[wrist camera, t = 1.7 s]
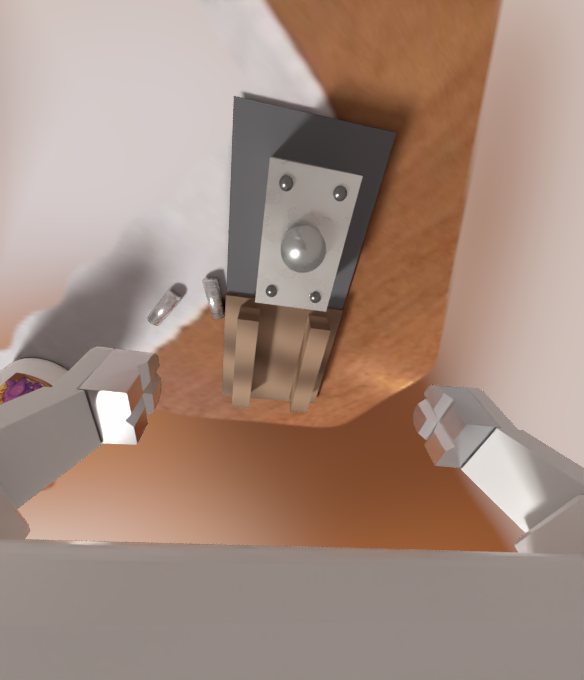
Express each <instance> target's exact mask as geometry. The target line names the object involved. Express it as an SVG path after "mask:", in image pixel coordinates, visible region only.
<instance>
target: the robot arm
mask: <svg viewBox="0 0 584 680" xmlns="http://www.w3.org/2000/svg"><path fill="white" fill-rule="evenodd" d="M159 366H160V365H159V358H158V356H157V355H156V354H155V353H147V352H140V351H132V350H125V349H115V348H107V347H99V346H97V347H93V348H91V349H90V350H89V351H88V352H87V353H86V354H85V355H84V356H83V357H82V358H81V359H80V360H79V361H78V362H77V363H76V364H75V365H74V366H73V367H72V368H71V369H70V370H69V371H68V372H67V373H66V374H65V375H64V376H63V377H62V378H60V379H59V380H58V381H57V382H56V383H55V384H54V385H53V386H52V387H42V388H40V389H37V390H35V391H32V392H30V393H27V394H25V395H23V396H20V397H18V398H15V399H13V400H10V401H8V402H5V403H3V404H0V680H584V468H583V467H581V466H580V465H578V464H576V463H575V462H573V461H572V460H570V459H568V458H567V457H565V456H564V455H562V454H560V453H559V452H557V451H555V450H554V449H552V448H551V447H549V446H547V445H546V444H544V443H543V442H541V441H539V440H538V439H536V438H534V437H533V436H531V435H530V434H528V433H526V432H525V431H523V430H518V429H517V428H516V427H515V426H514V425H513V423H512V422H511V421H510V420H509V419H508V418H507V417H506V416H505V415H504V414H503V412H502V411H500V409H499V408H498V407H497V406H496V405H495V404H494V402H493V401H492V400H491V399H490V398H489V397H488V396H487V395H486V394H485V393H484V391H482V390H480V389H478V388H467V387H452V386H443V385H433V384H432V385H431V386H429V387H428V388H427V390H426V391H425V393H424V395H425V400H423V401H422V402H420V403H418V405H417V407H416V408H415V410H414V418H413V420H414V425H415V428H416V430H417V432H418V433H419V434H420V435H421V436H422V437H423V438H425V439H426V442H425V447H426V449H427V451H428V453H429V455H430V457H431V459H432V461H433V463H434V465H436V466H447V467H456V468H462V469H461V470H462V471H463V472H464V473H465V474H466V475H467V476H468V477H469V478H471V480H472V481H473V482H474V483H475V484H476V485H477V486H478V487H479V488H480V489H482V490H483V491H484V492H485V493H486V494H487V495H488V496H489V497H490V498H491V499H492V500H493V501H494V502H495V503H496V504H497V505H498V506H499V507H500V508H501V509H502V510H503V511H504V512H505V513H506V514H507V515H508V516H509V517H510V518H511V519H512V520H513V521H514V522H515V523H516V524H517V525H518V526H519V527H520V528H521V529H522V530H523V531H524V532H525V534H524V535H522V536H521V537H520V538H518V539H517V540H516V541H515V547H516V549H517V551H518V552H519V553H513V552H476V551H440V550H438V551H437V550H404V549H403V550H400V549H367V548H331V547H293V546H292V547H291V546H258V545H256V546H255V545H221V544H183V543H145V542H143V543H142V542H107V541H69V540H68V541H67V540H33V539H25V538H26V537H27V535H28V534H29V532H30V528H29V524H28V523H27V521H26V520H25V519H24V518H23V516H22V515H21V513H20V512H19V511H18V508H19V507H20V506H22V505H23V504H24V503H25V502H27V501H28V500H30V499H31V498H32V497H34V496H35V495H36V494H38V493H39V492H40V491H42V490H43V489H44V488H46V487H47V486H48V485H49V484H51V483H52V482H53V481H55V480H56V479H57V478H59V477H60V476H61V475H63V474H64V473H65V472H67V471H68V470H69V469H70V468H72V467H73V466H74V465H76V464H77V463H78V462H80V461H81V460H82V459H84V458H85V457H86V456H88V455H89V454H90V453H92V452H93V451H94V450H95V449H97V448H98V447H99V446H101V443H111V444H135V445H137V444H138V442H139V440H140V438H141V436H142V434H143V433H144V431H145V429H146V427H147V425H148V420H147V415H149V414H150V413H152V412H153V411H155V409H156V407H157V404H158V402H159V398H160V395H161V386H162V384H161V377H160V376H159V375H158V374H157V373H156V371H157V369H158V368H159Z"/></svg>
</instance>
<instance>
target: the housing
mask: <svg viewBox="0 0 584 680" xmlns="http://www.w3.org/2000/svg"><path fill="white" fill-rule="evenodd" d="M362 177H363V176H361V175H357V174H354V173H350V172H347V171H342V170H337V169H332V168H327V167H322V166H317V165H312V164H307V163H302V162H297V161H292V160H287V159H282V158H277V157H272V156H271V157H270V162H269V171H268V181H267V191H266V200H265V210H264V220H263V229H262V239H261V249H260V259H259V268H258V278H257V288H256V297H255V302H256V303H264V304H271V305H279V306H286V307H294V308H302V309H309V310H317V311H324V312H326V310H327V306H328V303H329V299H330V295H331V292H332V288H333V284H334V280H335V277H336V273H337V269H338V266H339V262H340V258H341V255H342V251H343V247H344V243H345V240H346V236H347V232H348V229H349V225H350V221H351V218H352V214H353V210H354V207H355V203H356V199H357V195H358V192H359V188H360V184H361V181H362Z"/></svg>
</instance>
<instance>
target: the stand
mask: <svg viewBox="0 0 584 680" xmlns="http://www.w3.org/2000/svg"><path fill="white" fill-rule="evenodd" d="M342 313H343V309H338V308H331V307H327V310H326V312H324V311H317V310H309V309H302V308H294V307H286V306H279V305H271V304H264V303H256V302H255V297H249V296H242V295H234V294H226V306H225V334H224V362H223V389H222V395H225V396H232V407H242V408H249V402H250V398H259V399H271V400H282V401H290V412H302V413H307V410H308V406H309V403H315V400H316V397H317V394H318V390H319V387H320V384H321V381H322V377H323V374H324V371H325V368H326V365H327V361H328V358H329V355H330V352H331V348H332V345H333V342H334V339H335V336H336V332H337V329H338V326H339V323H340V319H341V316H342Z"/></svg>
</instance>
